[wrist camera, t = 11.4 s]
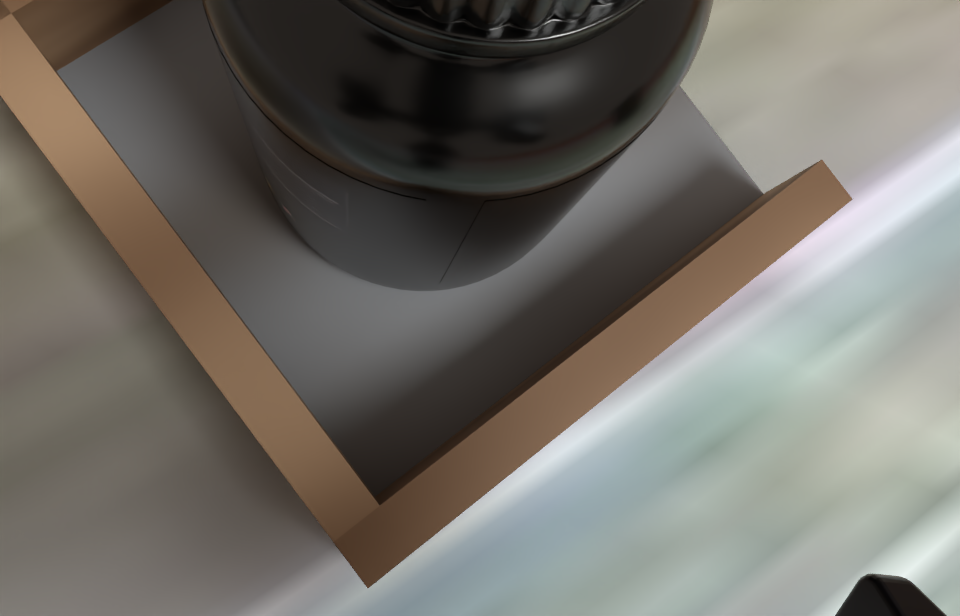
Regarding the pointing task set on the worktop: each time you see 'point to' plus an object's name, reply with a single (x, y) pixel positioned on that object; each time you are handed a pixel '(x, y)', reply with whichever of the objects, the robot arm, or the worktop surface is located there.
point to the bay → (367, 306)
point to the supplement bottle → (445, 118)
